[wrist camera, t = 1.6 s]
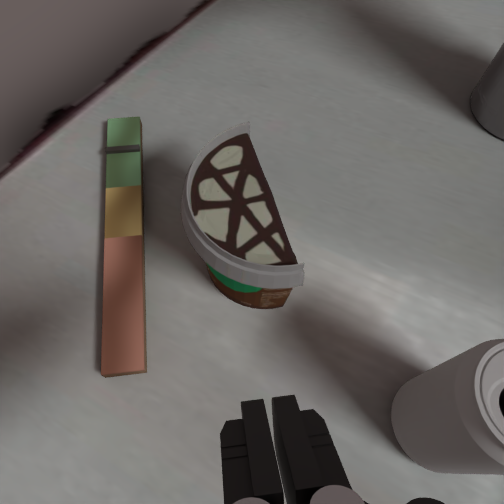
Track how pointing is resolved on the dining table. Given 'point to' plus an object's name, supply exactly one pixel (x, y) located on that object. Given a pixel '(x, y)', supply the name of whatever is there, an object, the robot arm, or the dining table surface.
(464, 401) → the beverage can
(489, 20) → the dining table surface
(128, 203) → the strip
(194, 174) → the food container
